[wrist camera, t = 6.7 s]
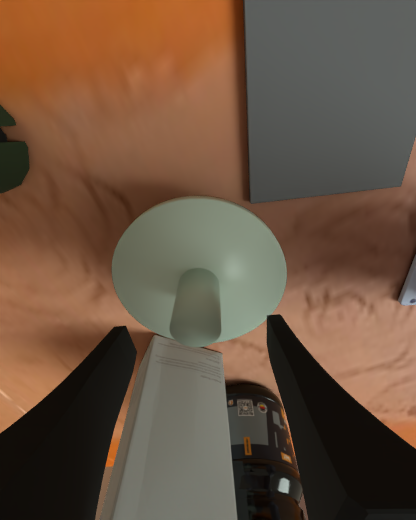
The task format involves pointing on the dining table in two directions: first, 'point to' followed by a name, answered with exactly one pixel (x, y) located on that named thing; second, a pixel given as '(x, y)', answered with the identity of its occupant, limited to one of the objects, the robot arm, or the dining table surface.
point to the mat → (328, 95)
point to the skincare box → (174, 440)
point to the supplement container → (262, 456)
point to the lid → (199, 270)
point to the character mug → (11, 157)
